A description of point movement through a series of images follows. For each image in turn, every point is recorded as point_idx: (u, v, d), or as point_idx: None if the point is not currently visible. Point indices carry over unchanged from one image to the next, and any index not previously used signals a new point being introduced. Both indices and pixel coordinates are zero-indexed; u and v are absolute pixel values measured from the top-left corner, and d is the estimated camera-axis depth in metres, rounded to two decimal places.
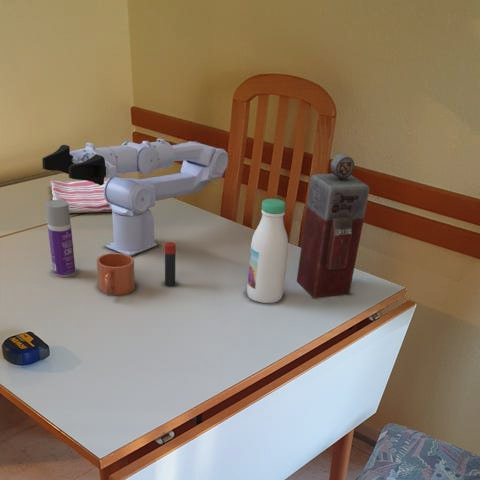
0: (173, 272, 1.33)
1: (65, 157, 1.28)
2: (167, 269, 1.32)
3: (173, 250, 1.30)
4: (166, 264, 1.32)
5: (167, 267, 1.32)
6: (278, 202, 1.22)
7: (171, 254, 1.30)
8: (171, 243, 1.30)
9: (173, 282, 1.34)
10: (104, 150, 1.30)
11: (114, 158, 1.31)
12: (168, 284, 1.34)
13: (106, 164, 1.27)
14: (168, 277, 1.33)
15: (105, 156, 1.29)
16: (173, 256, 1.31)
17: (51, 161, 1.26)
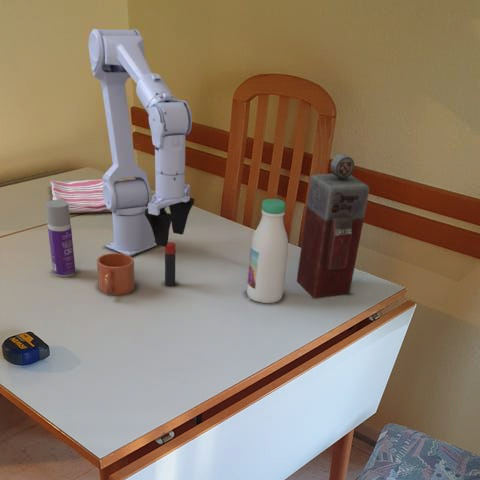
0: (173, 272, 1.33)
1: None
2: (167, 269, 1.32)
3: (173, 250, 1.30)
4: (166, 264, 1.32)
5: (167, 267, 1.32)
6: (278, 202, 1.22)
7: (171, 254, 1.30)
8: (171, 243, 1.30)
9: (173, 282, 1.34)
10: (184, 181, 1.22)
11: None
12: (168, 284, 1.34)
13: None
14: (168, 277, 1.33)
15: None
16: (173, 256, 1.31)
17: None
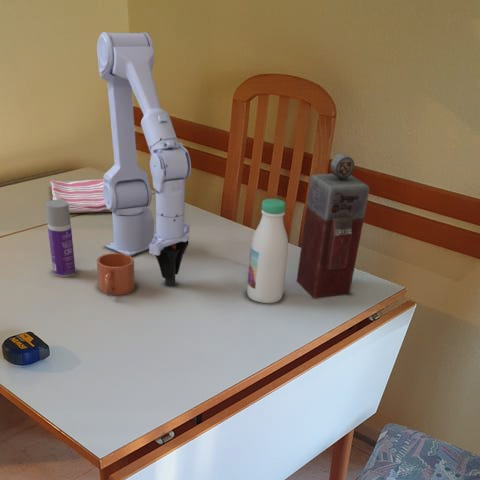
0: None
1: None
2: None
3: None
4: None
5: None
6: (278, 202, 1.22)
7: None
8: None
9: (173, 282, 1.34)
10: None
11: None
12: (168, 284, 1.34)
13: None
14: None
15: None
16: None
17: None
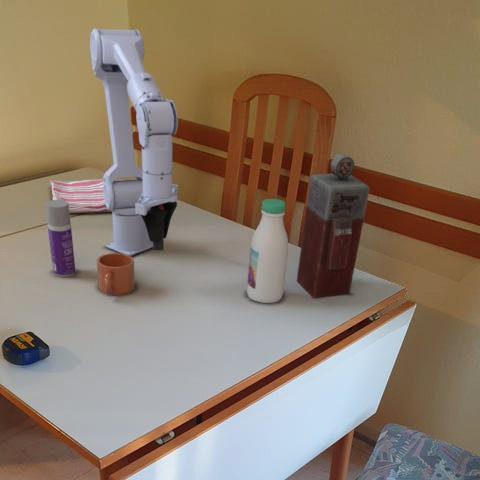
0: None
1: None
2: None
3: None
4: None
5: None
6: (278, 202, 1.22)
7: None
8: None
9: (161, 246, 1.29)
10: None
11: None
12: (156, 248, 1.29)
13: None
14: None
15: None
16: None
17: None
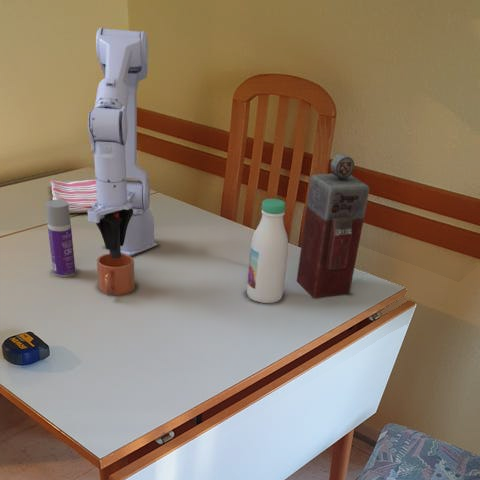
0: None
1: None
2: None
3: None
4: None
5: None
6: (278, 202, 1.22)
7: None
8: (114, 212, 1.23)
9: (118, 254, 1.27)
10: (126, 188, 1.20)
11: None
12: (113, 256, 1.27)
13: None
14: None
15: None
16: None
17: None
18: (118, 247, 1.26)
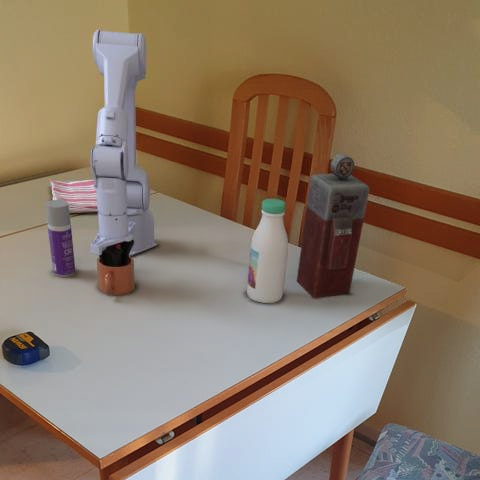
0: None
1: None
2: None
3: None
4: None
5: None
6: (278, 202, 1.22)
7: None
8: None
9: None
10: (127, 221, 1.24)
11: None
12: None
13: None
14: None
15: None
16: None
17: None
18: None
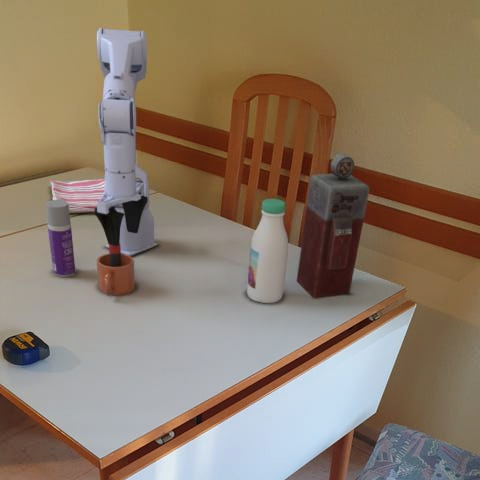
0: None
1: None
2: None
3: (117, 249, 1.27)
4: (111, 264, 1.28)
5: None
6: (278, 202, 1.22)
7: (115, 253, 1.27)
8: None
9: None
10: (135, 180, 1.21)
11: None
12: None
13: None
14: None
15: None
16: (118, 256, 1.27)
17: None
18: None
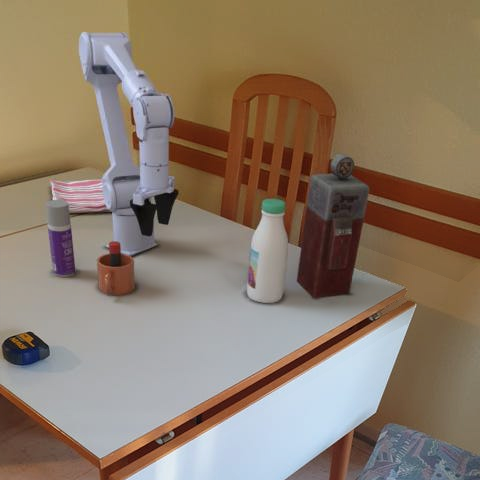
0: None
1: None
2: None
3: (117, 249, 1.27)
4: (111, 264, 1.28)
5: None
6: (278, 202, 1.22)
7: (115, 253, 1.27)
8: (116, 242, 1.27)
9: None
10: (168, 173, 1.26)
11: None
12: None
13: None
14: None
15: None
16: (118, 256, 1.27)
17: None
18: None
